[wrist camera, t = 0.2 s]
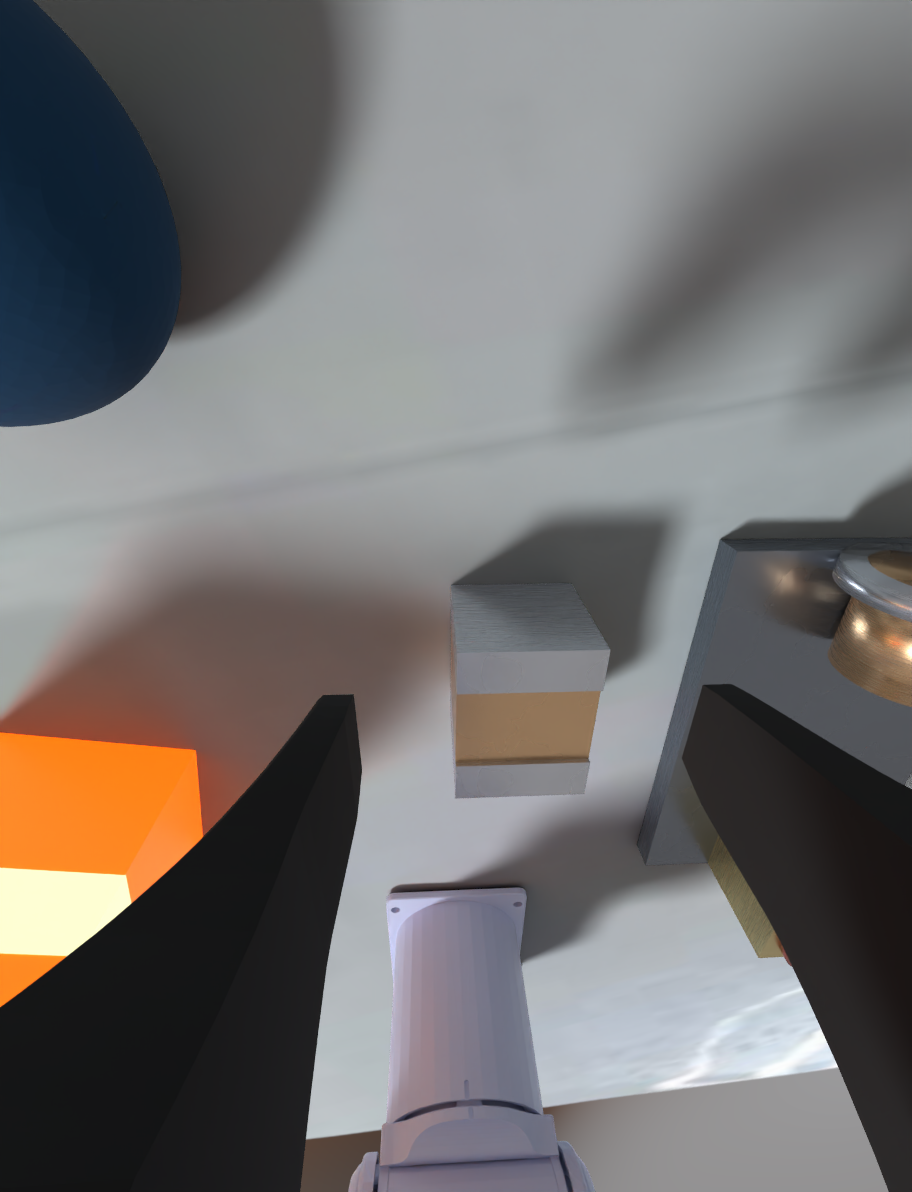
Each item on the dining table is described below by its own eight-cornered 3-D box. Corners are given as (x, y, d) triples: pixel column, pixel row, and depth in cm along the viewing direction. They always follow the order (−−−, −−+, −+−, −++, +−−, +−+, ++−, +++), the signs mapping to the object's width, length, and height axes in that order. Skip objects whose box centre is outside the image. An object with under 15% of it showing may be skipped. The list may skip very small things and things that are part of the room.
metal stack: (841, 842, 28) (945, 968, 22) (635, 850, 28) (689, 983, 22) (1013, 536, 20) (1250, 616, 14) (719, 539, 19) (844, 624, 13)
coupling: (554, 708, 23) (584, 793, 18) (450, 711, 22) (455, 798, 18) (571, 582, 20) (610, 649, 15) (450, 584, 19) (456, 653, 15)
